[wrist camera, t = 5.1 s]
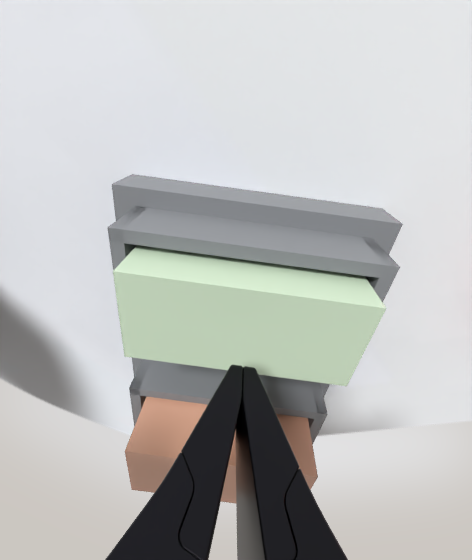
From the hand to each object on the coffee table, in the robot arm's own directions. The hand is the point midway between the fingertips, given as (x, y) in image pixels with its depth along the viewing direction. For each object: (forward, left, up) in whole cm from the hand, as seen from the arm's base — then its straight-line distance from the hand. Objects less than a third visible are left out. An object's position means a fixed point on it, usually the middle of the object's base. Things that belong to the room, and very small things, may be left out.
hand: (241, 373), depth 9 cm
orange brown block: (0, -10, -5) cm, 11 cm away
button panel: (0, -5, -9) cm, 10 cm away
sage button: (0, 0, -6) cm, 6 cm away
